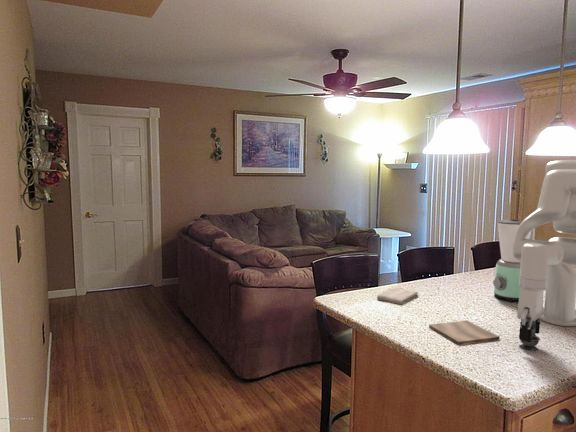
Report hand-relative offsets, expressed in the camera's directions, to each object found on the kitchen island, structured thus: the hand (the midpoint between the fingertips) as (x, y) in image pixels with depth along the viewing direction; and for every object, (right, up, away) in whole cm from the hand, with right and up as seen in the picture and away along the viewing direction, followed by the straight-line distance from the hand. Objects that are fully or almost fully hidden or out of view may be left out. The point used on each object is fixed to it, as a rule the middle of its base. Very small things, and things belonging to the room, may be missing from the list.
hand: (529, 336), depth 135 cm
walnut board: (-16, -2, +13) cm, 20 cm away
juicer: (+22, +2, +53) cm, 58 cm away
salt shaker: (0, -4, +1) cm, 4 cm away
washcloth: (-28, +1, +54) cm, 60 cm away
